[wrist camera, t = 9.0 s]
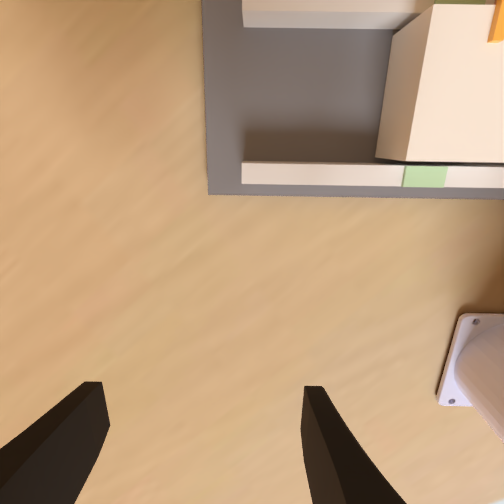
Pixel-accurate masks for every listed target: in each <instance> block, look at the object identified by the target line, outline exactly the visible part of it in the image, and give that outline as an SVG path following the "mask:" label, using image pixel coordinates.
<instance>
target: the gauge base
mask: <svg viewBox="0 0 504 504" xmlns="http://www.w3.org/2000/svg"><path fill="white" fill-rule="evenodd" d="M496 3H497V0H202V25H203V54H204V83H205V113H206V142H207V171H208V195H254V196H315V197H375V198H435V199H496V200H504V163H493V162H430V161H401V160H393V159H385V158H376V157H375V154H376V147H377V140H378V133H379V126H380V120H381V113H382V106H383V99H384V92H385V85H386V78H387V71H388V65H389V58H390V51H391V44H392V37H393V35H395V34H396V33H397V32H398V31H400V30H401V29H402V28H404V27H405V26H406V25H407V24H409V23H410V22H411V21H413V20H414V19H415V18H416V17H418V16H419V15H420V14H422V13H423V12H424V11H425V10H427V9H428V8H429V7H431V6H432V5H433V4H471V5H496Z"/></svg>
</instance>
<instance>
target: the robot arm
mask: <svg viewBox="0 0 504 504" xmlns="http://www.w3.org/2000/svg"><path fill="white" fill-rule="evenodd" d="M475 319H476V320H475ZM473 320H475V321H474V322H473ZM436 400H437V402H438V403H439V404H440V405H443V406H473V407H474V408H475V409H476V410H477V412H478V413H479V414H480V415H481V417H482V418H483V419H484V420H485V421H486V423H487V424H488V425H489V426H490V427H491V429H492V430H493V431H494V432H495V434H496V435H497V436H498V437H499V438H500V440H501V441H502V442H503V443H504V314H490V313H465V314H462V315H461V316H460V317H459V319H458V322H457V326H456V329H455V333H454V336H453V340H452V344H451V347H450V351H449V354H448V358H447V361H446V365H445V368H444V372H443V375H442V379H441V382H440V386H439V389H438V393H437V396H436ZM109 427H110V421H109V416H108V411H107V406H106V401H105V396H104V390H103V385H102V382H84V383H82V384H81V385H80V386H79V387H77V388H76V389H75V390H74V391H72V392H71V393H70V394H69V395H67V396H66V397H65V398H64V399H63V400H61V401H60V402H59V403H58V404H57V405H55V406H54V407H53V408H52V409H50V410H49V411H48V412H47V413H46V414H44V415H43V416H42V417H41V418H39V419H38V420H37V421H36V422H34V423H33V424H32V425H31V426H29V427H28V428H27V429H26V430H24V431H23V432H22V433H21V434H19V435H18V436H17V437H15V438H14V439H13V440H11V441H10V442H9V443H7V444H6V445H5V446H3V447H2V448H1V449H0V504H74V503H75V501H76V499H77V497H78V495H79V494H80V492H81V490H82V488H83V486H84V484H85V482H86V480H87V478H88V476H89V474H90V472H91V470H92V468H93V466H94V464H95V462H96V460H97V458H98V456H99V453H100V451H101V448H102V446H103V443H104V441H105V438H106V435H107V432H108V430H109ZM301 438H302V448H303V456H304V463H305V468H306V473H307V478H308V483H309V488H310V493H311V497H312V502H313V504H406V503H405V501H404V500H403V499H402V498H401V497H400V496H399V494H398V493H397V492H396V491H395V490H394V488H393V487H392V486H391V485H390V484H389V482H388V481H387V480H386V479H385V477H384V476H383V475H382V474H381V472H380V471H379V470H378V469H377V467H376V466H375V465H374V463H373V462H372V461H371V459H370V458H369V457H368V455H367V454H366V453H365V451H364V450H363V449H362V447H361V446H360V444H359V443H358V441H357V440H356V439H355V437H354V436H353V434H352V433H351V431H350V430H349V428H348V427H347V425H346V424H345V422H344V421H343V419H342V418H341V416H340V414H339V413H338V411H337V410H336V408H335V406H334V405H333V403H332V401H331V400H330V398H329V396H328V394H327V393H326V391H325V389H324V388H323V387H322V386H304V397H303V408H302V419H301Z"/></svg>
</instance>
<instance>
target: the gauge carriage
mask: <svg viewBox="0 0 504 504" xmlns="http://www.w3.org/2000/svg"><path fill="white" fill-rule="evenodd" d="M375 157H376V158H385V159H393V160H401V161H430V162H493V163H504V0H497V3H496V5H471V4H433V5H432V6H431V7H429V8H428V9H427V10H425V11H424V12H423V13H422V14H420V15H419V16H418V17H416V18H415V19H414V20H413V21H411V22H410V23H409V24H407V25H406V26H405V27H404V28H402V29H401V30H400V31H398V32H397V33H396V34H395V35H393V37H392V44H391V51H390V58H389V65H388V71H387V78H386V85H385V92H384V99H383V106H382V113H381V120H380V126H379V133H378V140H377V147H376V154H375Z"/></svg>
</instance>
